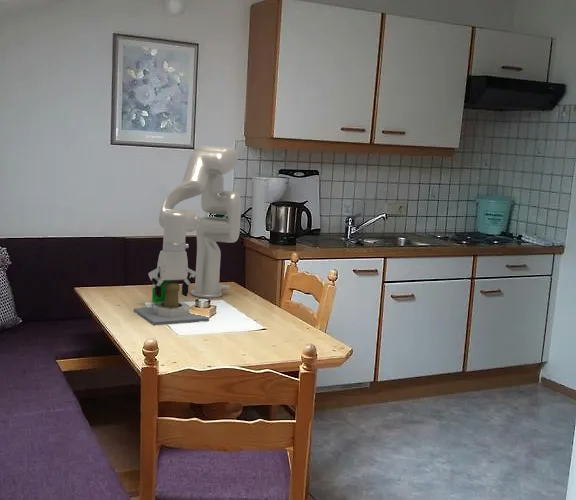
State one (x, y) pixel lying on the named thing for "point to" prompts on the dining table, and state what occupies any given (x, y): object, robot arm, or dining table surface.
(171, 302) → the cork
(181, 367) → the dining table surface
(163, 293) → the soda can
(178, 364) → the dining table surface
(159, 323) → the slate board
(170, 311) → the steel collar
